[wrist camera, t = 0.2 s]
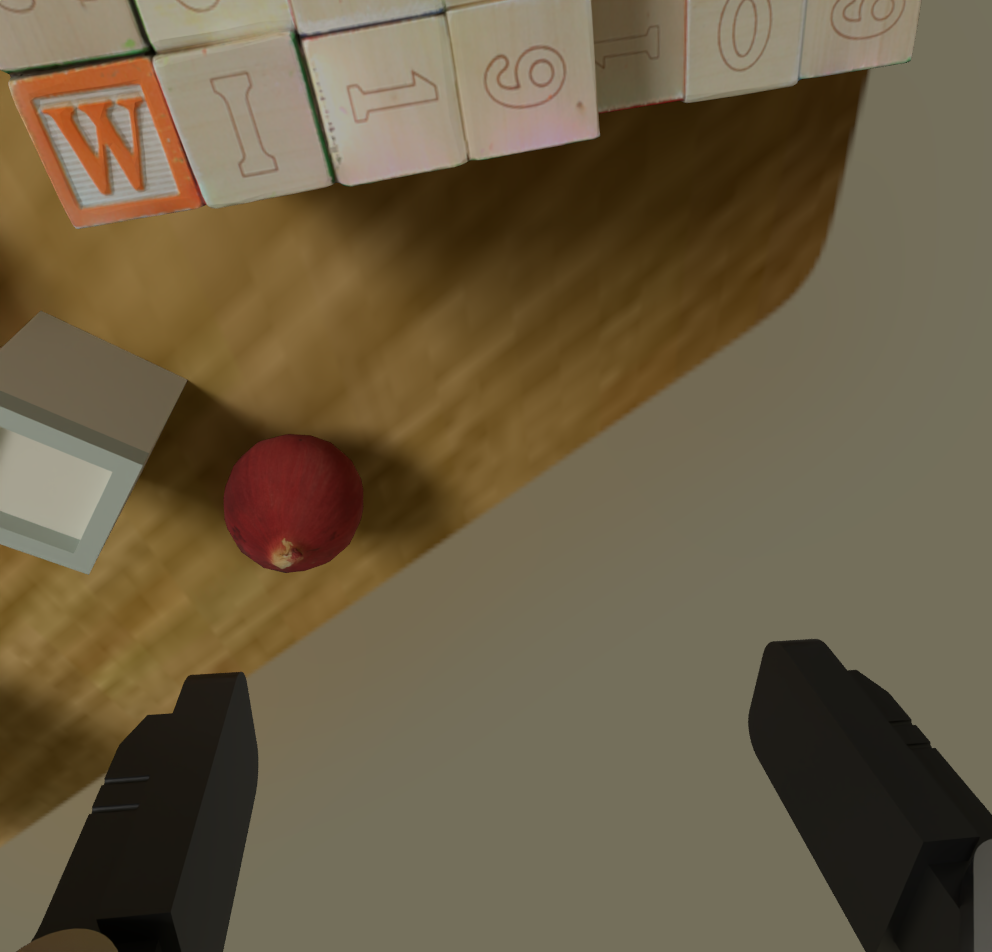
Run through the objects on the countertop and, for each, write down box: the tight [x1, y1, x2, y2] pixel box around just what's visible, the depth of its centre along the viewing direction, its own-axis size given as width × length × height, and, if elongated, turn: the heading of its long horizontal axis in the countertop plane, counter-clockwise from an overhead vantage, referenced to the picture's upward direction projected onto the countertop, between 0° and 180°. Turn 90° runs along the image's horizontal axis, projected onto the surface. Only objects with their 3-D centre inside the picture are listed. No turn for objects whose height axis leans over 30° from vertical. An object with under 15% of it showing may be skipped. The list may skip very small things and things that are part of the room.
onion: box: [224, 434, 363, 573], centre depth 31 cm, size 6×6×8 cm
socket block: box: [0, 311, 187, 575], centre depth 29 cm, size 6×6×7 cm
